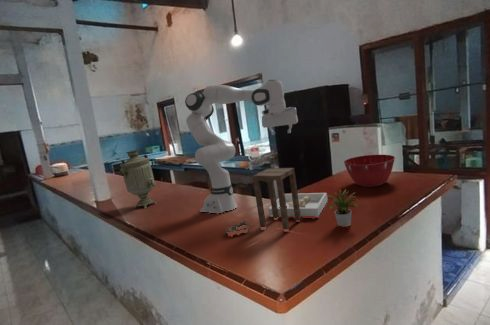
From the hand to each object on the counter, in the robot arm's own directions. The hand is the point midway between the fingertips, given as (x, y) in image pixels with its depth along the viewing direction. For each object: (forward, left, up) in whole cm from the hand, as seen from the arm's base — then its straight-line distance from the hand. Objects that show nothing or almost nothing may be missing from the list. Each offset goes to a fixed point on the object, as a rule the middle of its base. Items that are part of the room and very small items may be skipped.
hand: (281, 133), depth 172 cm
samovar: (-103, -9, -39) cm, 111 cm away
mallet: (+10, -13, -38) cm, 42 cm away
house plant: (+34, -36, -39) cm, 63 cm away
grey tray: (+10, -15, -39) cm, 43 cm away
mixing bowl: (+42, +28, -39) cm, 64 cm away
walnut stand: (+6, -37, -39) cm, 54 cm away
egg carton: (-12, -46, -40) cm, 62 cm away
